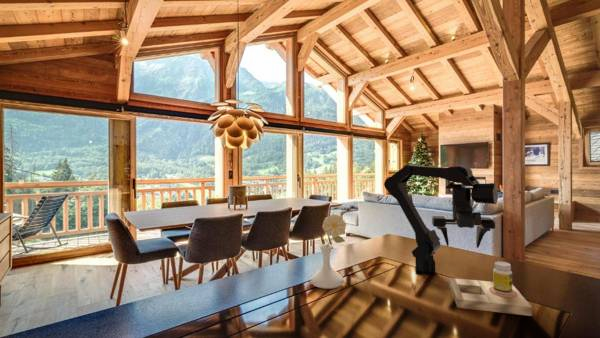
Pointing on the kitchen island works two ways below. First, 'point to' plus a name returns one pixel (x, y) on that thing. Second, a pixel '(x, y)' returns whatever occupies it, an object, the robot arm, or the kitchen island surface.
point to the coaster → (514, 294)
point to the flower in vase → (326, 274)
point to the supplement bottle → (502, 278)
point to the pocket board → (486, 298)
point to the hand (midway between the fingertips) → (462, 246)
